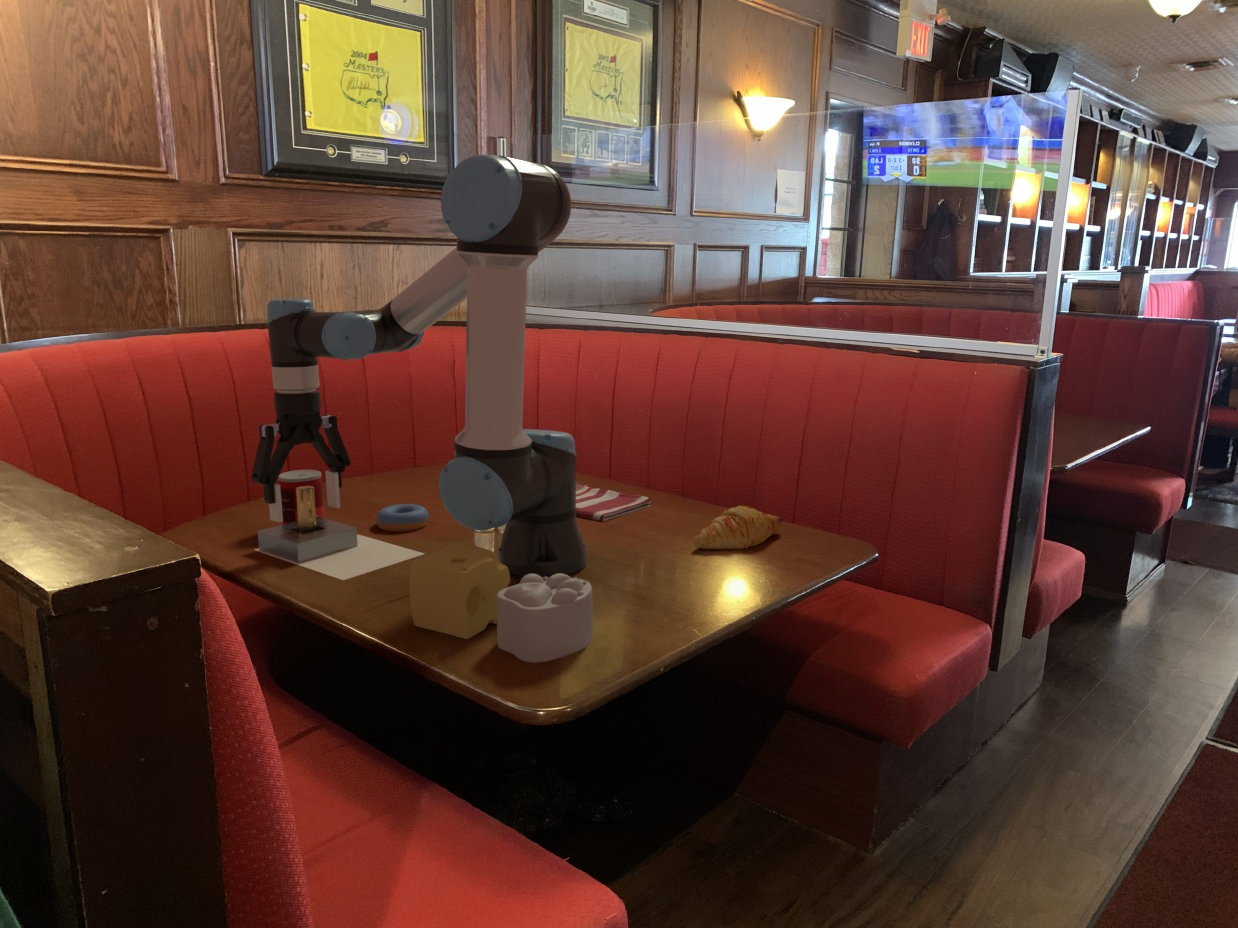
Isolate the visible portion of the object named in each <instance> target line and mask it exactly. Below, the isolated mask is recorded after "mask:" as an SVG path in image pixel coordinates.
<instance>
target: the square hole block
mask: <svg viewBox="0 0 1238 928" xmlns="http://www.w3.org/2000/svg"><path fill="white" fill-rule="evenodd" d="M316 528H317V531H315V532H311V533H307V534H301V533H299V526H298V521H296V522H292V523H288V524H284V525H282V524H280V525H276V526H272V527H268V528H264V529H259V530H257V539H258V540H257V541H258V548H259V550H261V551H264V552H267V553H270V554H273V555H276V556H279V557H282V558H285V559H288V560H290V561H293V562H296V563H301V562H305V561H308V560H312V559H315V558H319V557H322V556H326V555H329V554H332V553H336V552H339V551H343V550H346V549H350V548H353V547H356V546H358V543H357V534H358V531H357V527H355V526H352V525H349V524H345V523H342V522H339V521H334V520H331V519H328V518H325V517H324V518H321V517H318V516H316Z"/></svg>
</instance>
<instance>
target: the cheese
mask: <svg viewBox="0 0 1238 928" xmlns="http://www.w3.org/2000/svg"><path fill="white" fill-rule="evenodd" d="M408 579H409V582H408V584H409V587H408V588H409V602H410V610H411V611H410V612H411V615H412V621H413V626H415V627H417V628H418V627H419V628H421V629H426V630H430V631H433V632H438V633H442V634H446V635H449V636H453V637H456V638H460V639H462V640H463V639H464V640H469V639H470V638H472V637H475V636H476V635H478V634H479V633H481V632H483V631H484V630H486V627H487V626H488V624H494V625H495V624H496V625H497V601H496V597H497V594H498V592H499V591H500V590H502V589H505V588H507V587H509V584H510V583H511V574H510V573H509V570H508V568H507V566H505V565H503V564H502V563H501V562H500V561H499V559H498V555H496V552H493V551H492V550H489V549H487V548H484V547H480V546H478V545H474V544H471V543H467V542H464V541H463V542H462V541H454V542H452V543H449V544H448V545H446V546H445V547H442V548H440V549H438V550H436V551H434V552H432V553H429V554H427V555H424V556H422V557H421V556H420V557H419V558H416V559H413V560H411V562H410V569H409V578H408Z"/></svg>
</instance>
